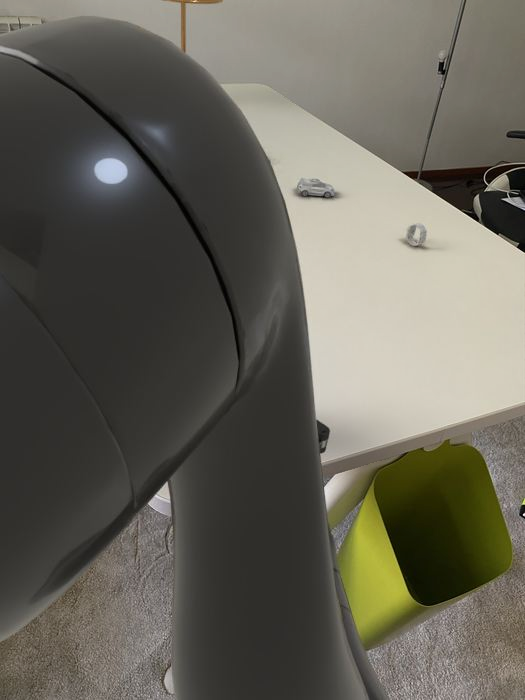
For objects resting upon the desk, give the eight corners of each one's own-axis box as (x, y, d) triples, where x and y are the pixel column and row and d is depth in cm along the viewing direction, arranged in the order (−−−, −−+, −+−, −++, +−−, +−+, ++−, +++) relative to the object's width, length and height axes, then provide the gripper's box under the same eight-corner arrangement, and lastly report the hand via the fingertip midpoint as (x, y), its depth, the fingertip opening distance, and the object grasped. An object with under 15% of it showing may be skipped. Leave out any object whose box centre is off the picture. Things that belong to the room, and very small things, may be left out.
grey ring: (424, 247, 100) (430, 227, 98) (416, 250, 99) (422, 229, 97) (411, 239, 103) (416, 219, 100) (402, 241, 102) (408, 221, 99)
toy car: (335, 198, 114) (338, 184, 112) (297, 196, 113) (299, 182, 111) (332, 191, 117) (335, 177, 115) (295, 189, 116) (297, 175, 114)
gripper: (373, 492, 40) (314, 343, 53) (189, 511, 37) (175, 349, 50) (353, 549, 44) (303, 399, 58) (189, 568, 42) (176, 407, 55)
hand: (243, 376), depth 54 cm, fingers closed
